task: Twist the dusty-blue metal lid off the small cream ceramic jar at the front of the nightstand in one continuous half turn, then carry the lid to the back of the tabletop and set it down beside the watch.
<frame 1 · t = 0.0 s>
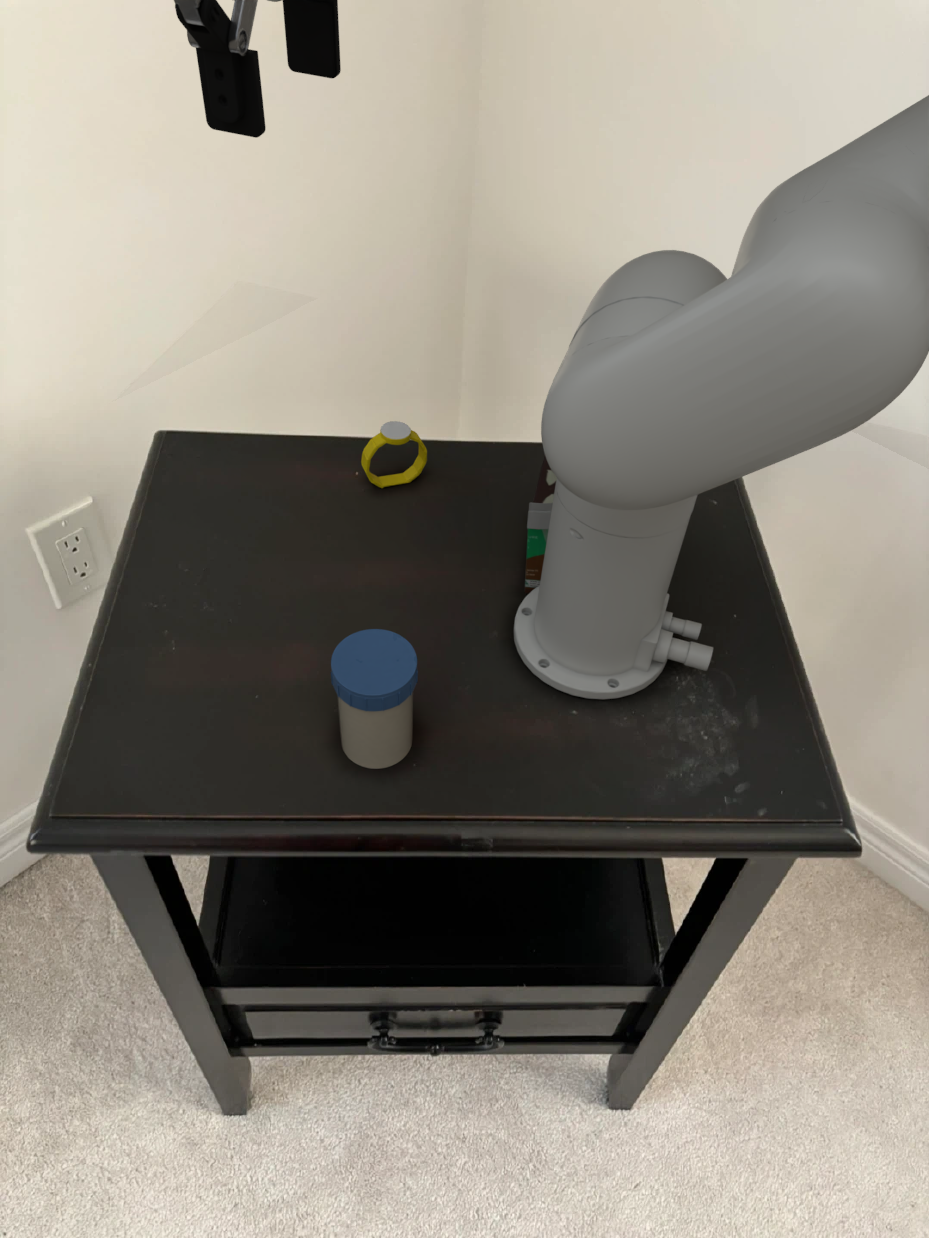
hand: (278, 101, 53), 37 cm above the table, tool pointing down, fingers open, 9 cm apart
food container: (566, 565, 82), on the table, touching arm
jar: (376, 738, 68), on the table
lid: (374, 663, 62), point 9 cm above the table, screwed on, not yet turned
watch: (394, 483, 88), on the table
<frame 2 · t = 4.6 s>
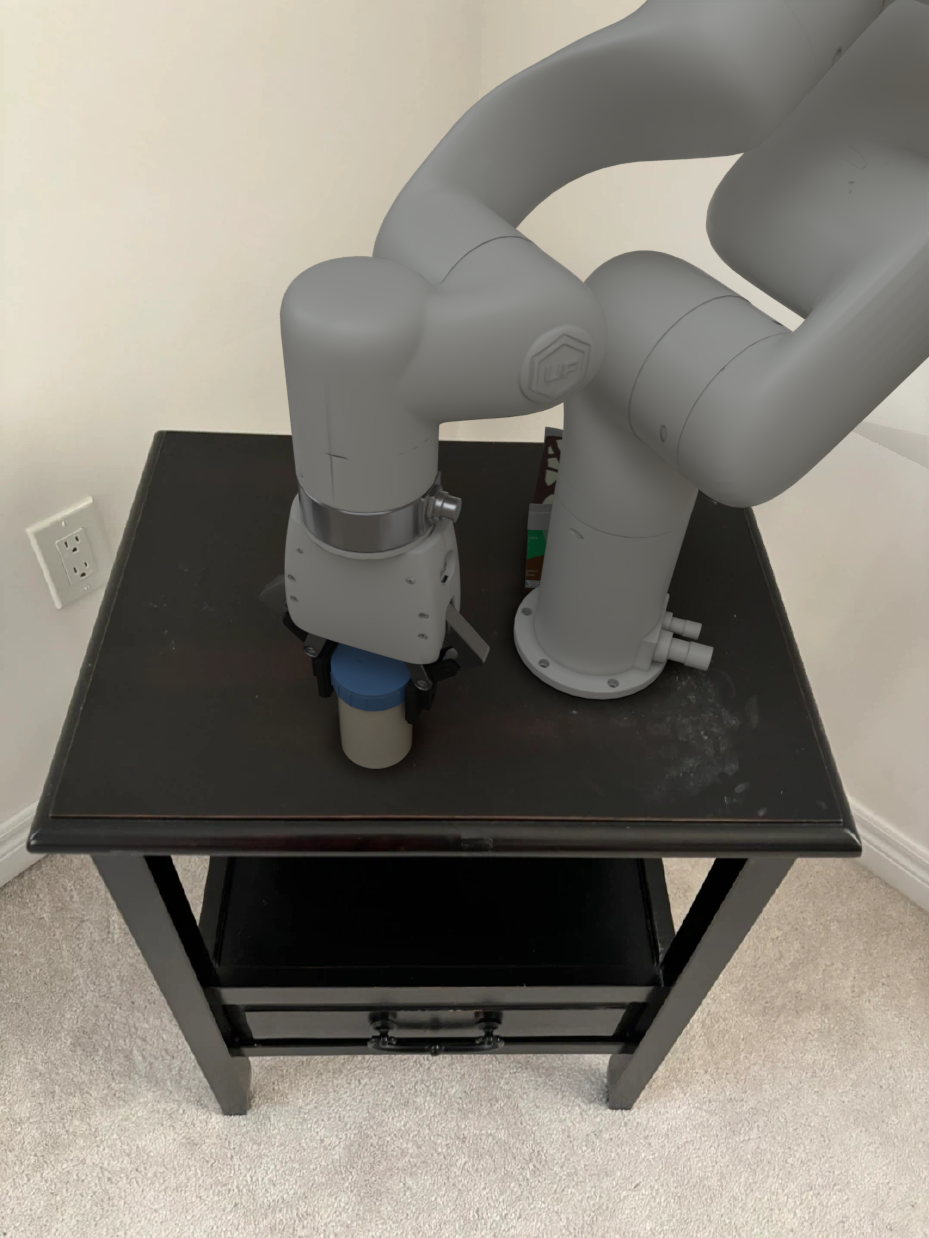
hand: (375, 693, 64), 5 cm above the table, tool pointing down, fingers closed on lid, 5 cm apart
lid: (374, 663, 62), point 9 cm above the table, screwed on, not yet turned, touching gripper
everything else where it was.
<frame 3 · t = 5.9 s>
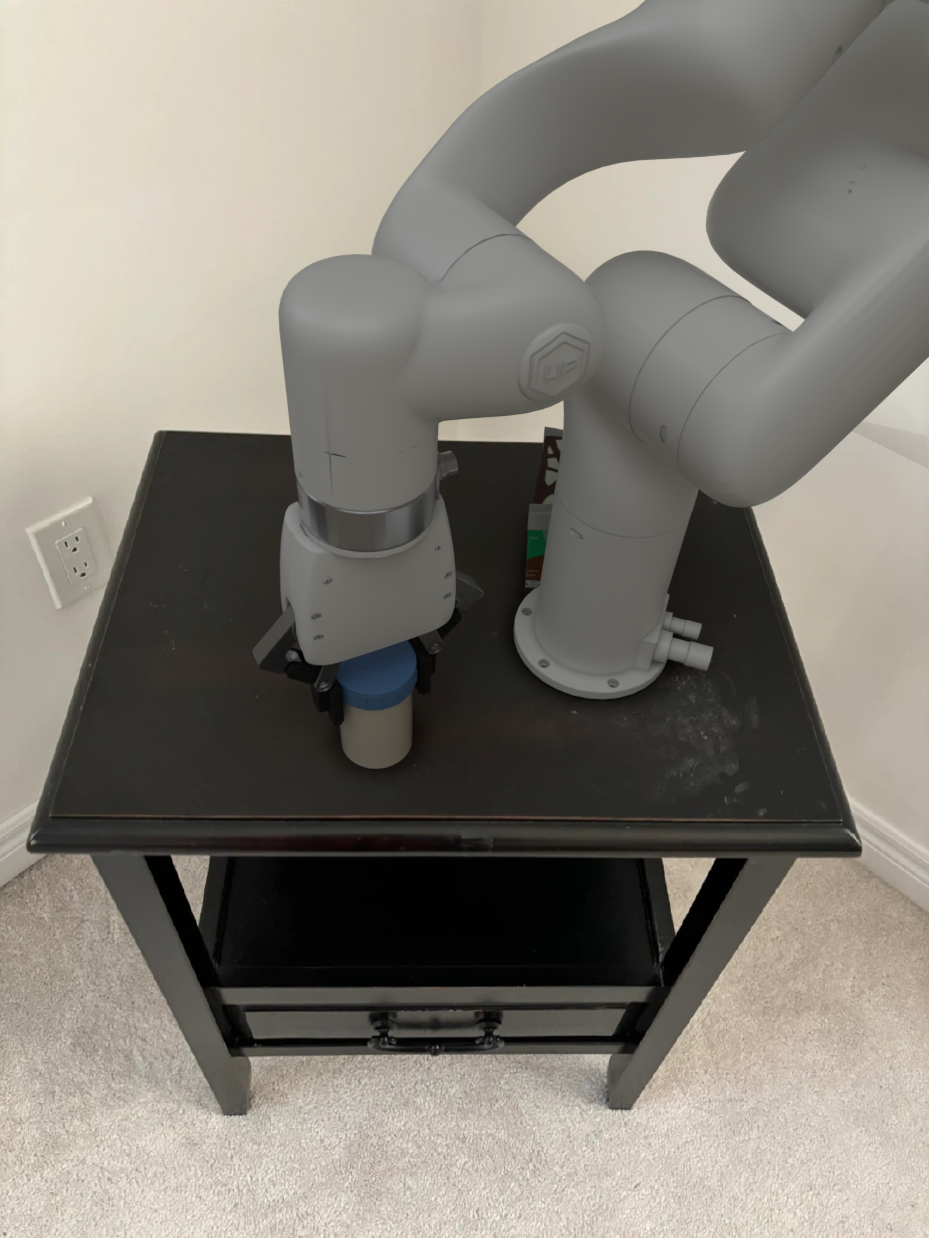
hand: (374, 692, 64), 6 cm above the table, tool pointing down, fingers closed on lid, 5 cm apart
lid: (373, 662, 62), point 9 cm above the table, turned 45° so far, risen 0.1 cm, still on its thread, touching gripper
everything else where it was.
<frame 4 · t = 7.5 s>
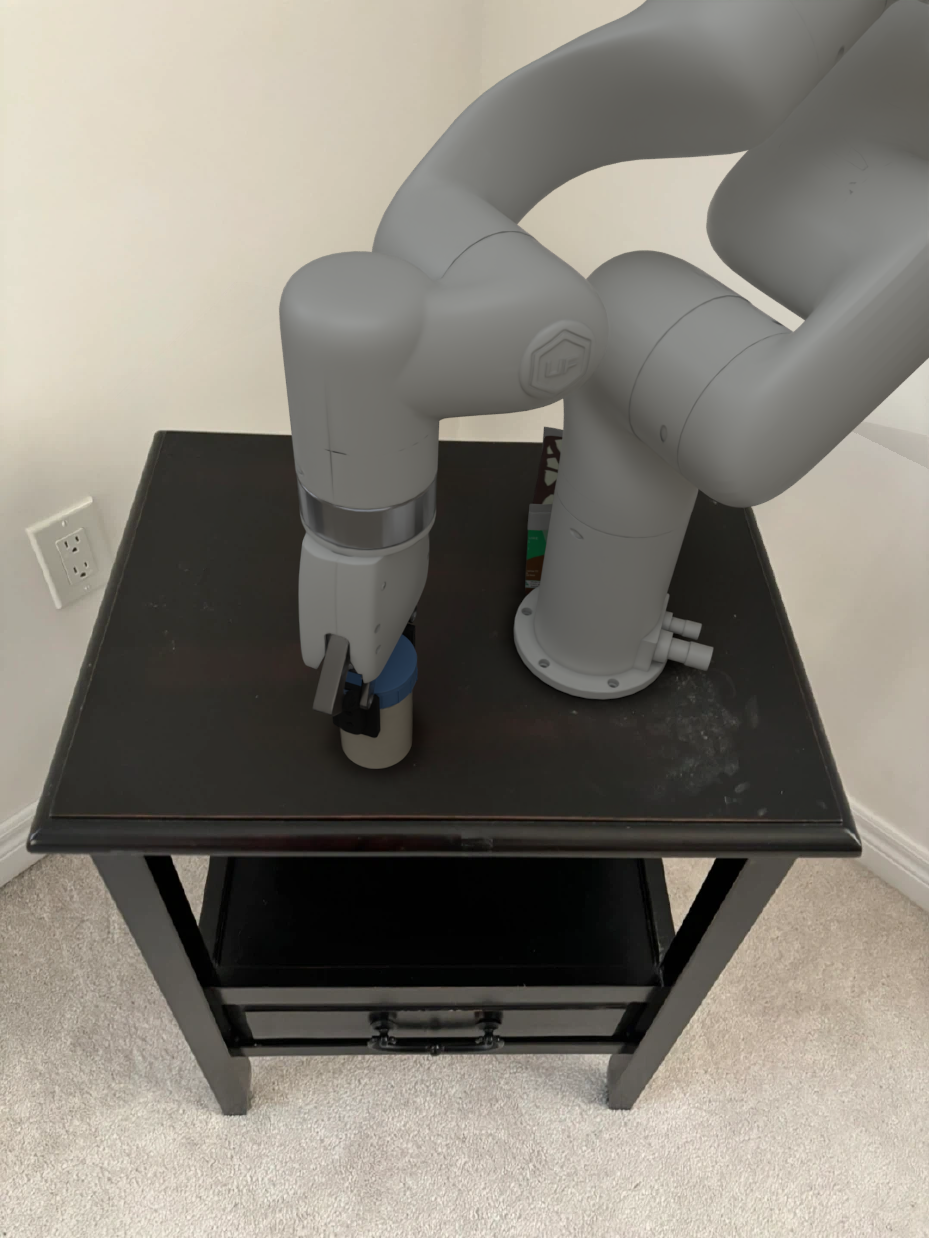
hand: (375, 691, 64), 6 cm above the table, tool pointing down, fingers closed on lid, 5 cm apart
lid: (373, 661, 61), point 9 cm above the table, turned 90° so far, risen 0.2 cm, still on its thread, touching gripper
everything else where it was.
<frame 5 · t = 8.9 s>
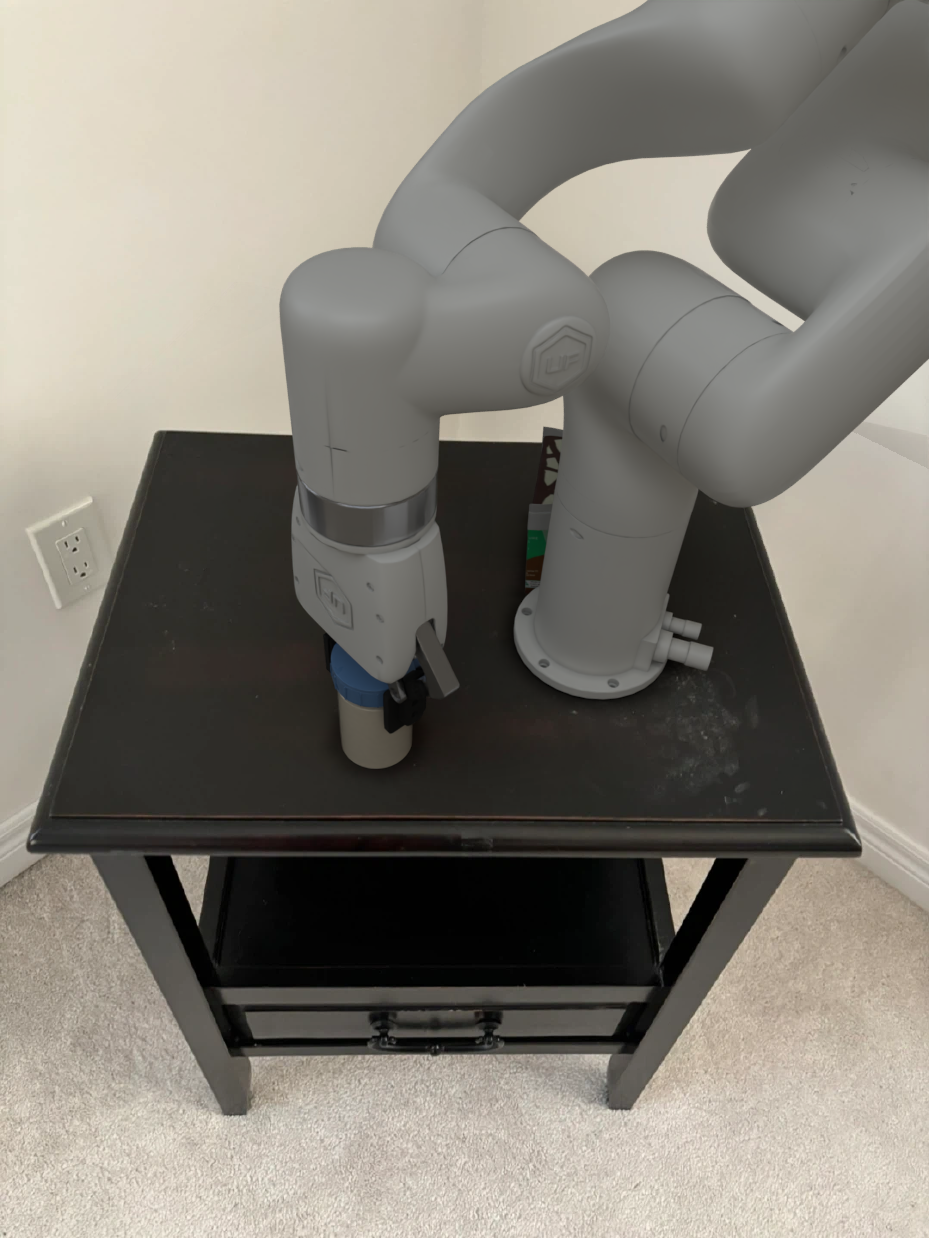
hand: (375, 689, 64), 6 cm above the table, tool pointing down, fingers closed on lid, 5 cm apart
lid: (374, 659, 61), point 9 cm above the table, off its thread, touching gripper
everything else where it was.
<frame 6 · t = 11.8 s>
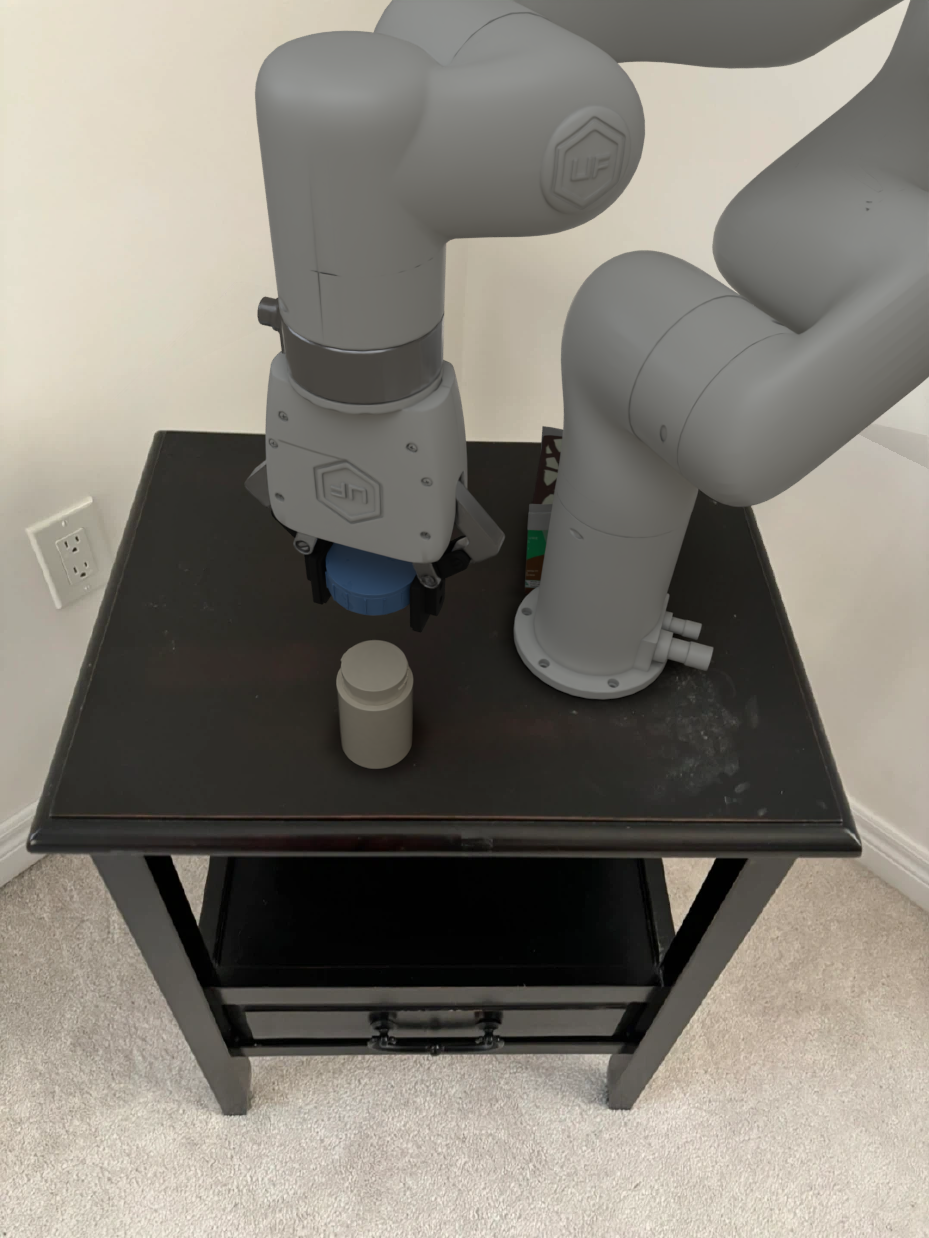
hand: (376, 599, 57), 15 cm above the table, tool pointing down, fingers closed on lid, 5 cm apart
lid: (374, 563, 55), point 18 cm above the table, off its thread, touching gripper
everything else where it was.
when the fingers open (0 cm above the table, at t = 19.4 s): lid drops 2 cm, point 1 cm above the table.
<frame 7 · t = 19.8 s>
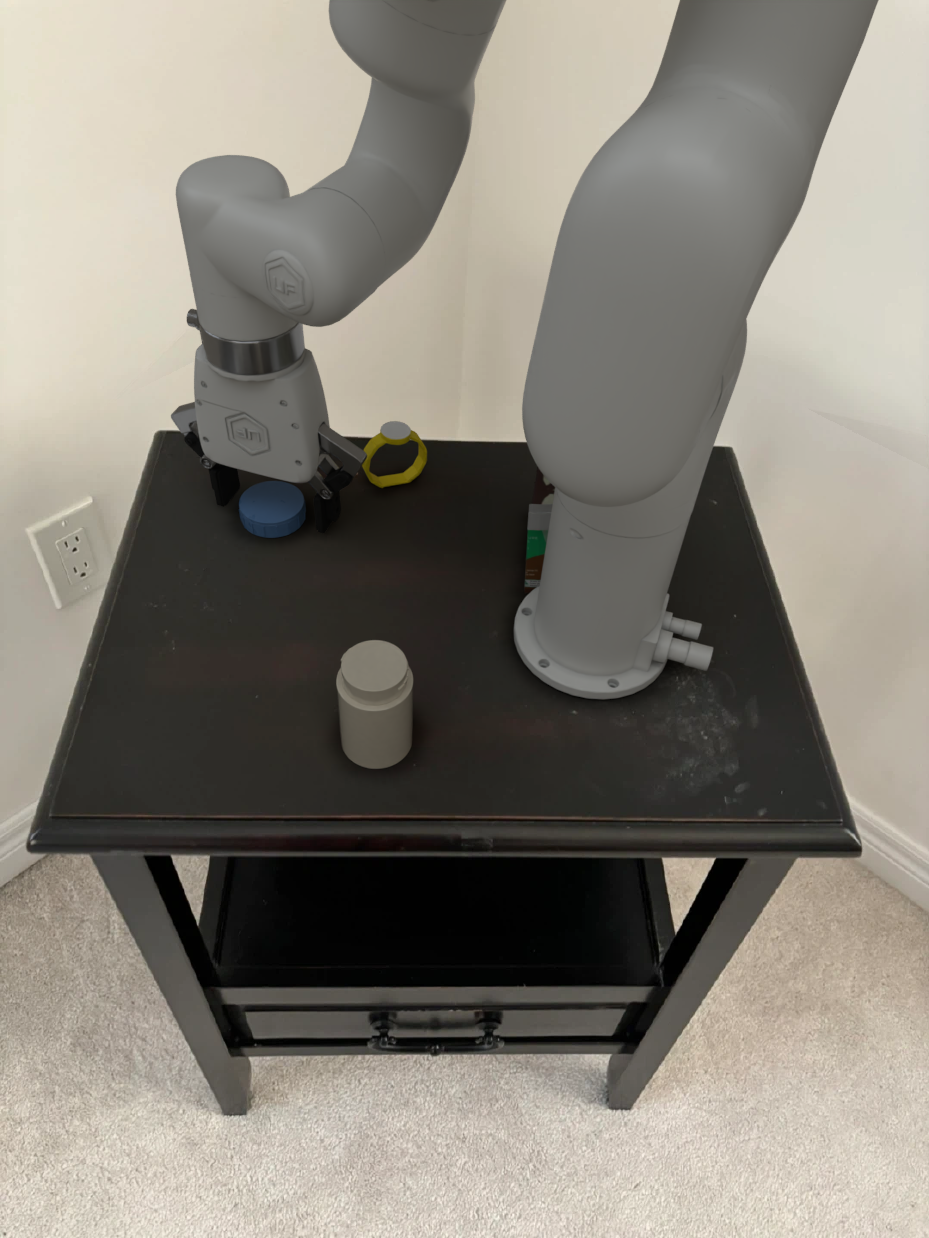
hand: (277, 509, 83), 1 cm above the table, tool pointing down, fingers open, 9 cm apart
lid: (271, 504, 82), point 1 cm above the table, off its thread
everything else where it was.
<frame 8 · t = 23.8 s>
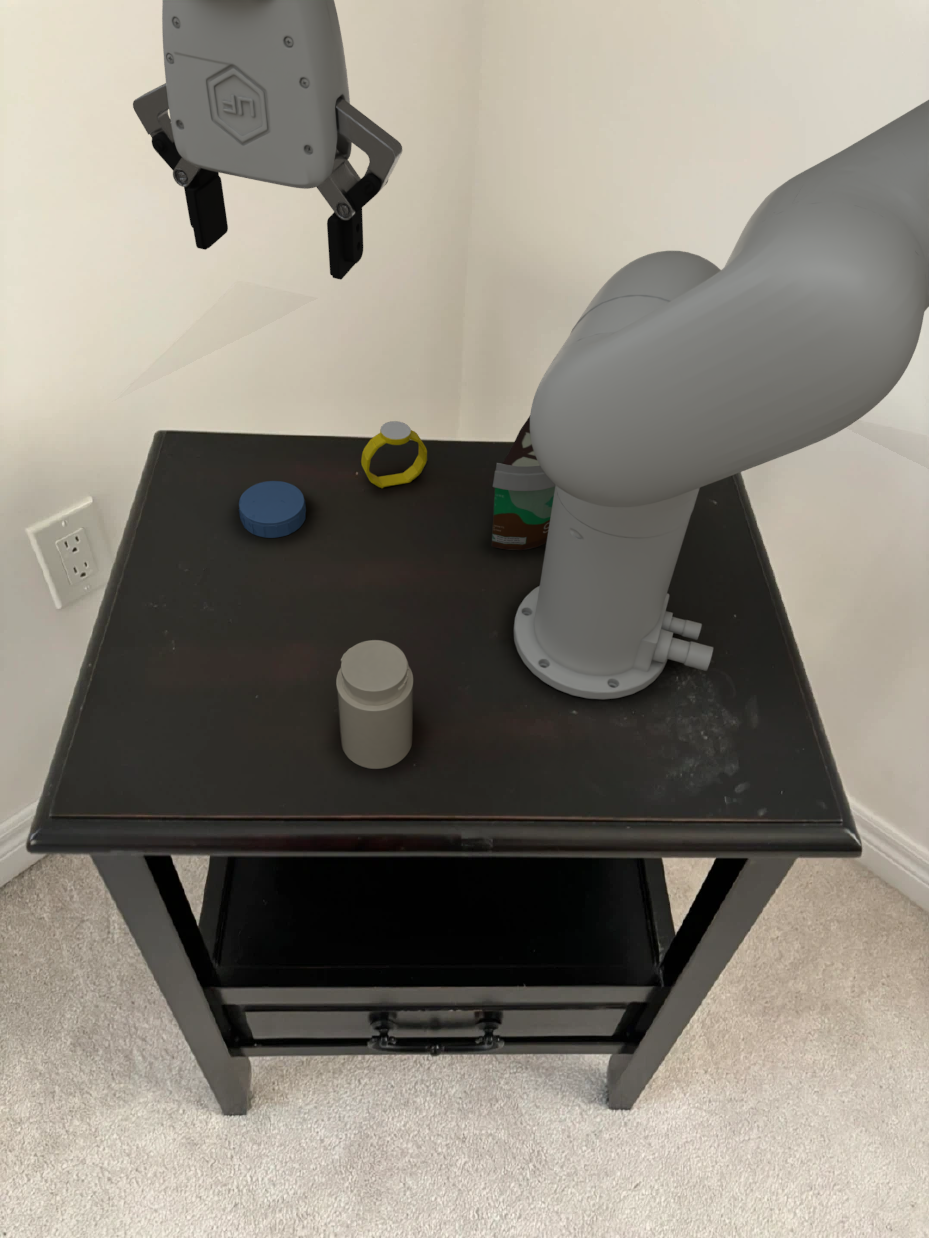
hand: (278, 255, 62), 26 cm above the table, tool pointing down, fingers open, 9 cm apart
food container: (540, 525, 85), on the table
everything else where it was.
at the end: lid came off its thread; lid inside the target area on the table beside the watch (0.2 cm from its centre), point 1.7 cm above the table; the gripper is holding nothing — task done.
